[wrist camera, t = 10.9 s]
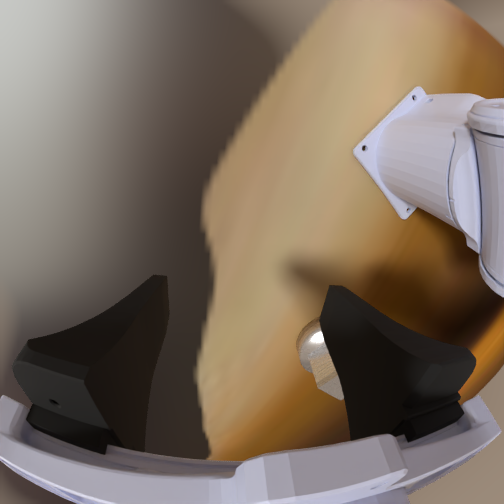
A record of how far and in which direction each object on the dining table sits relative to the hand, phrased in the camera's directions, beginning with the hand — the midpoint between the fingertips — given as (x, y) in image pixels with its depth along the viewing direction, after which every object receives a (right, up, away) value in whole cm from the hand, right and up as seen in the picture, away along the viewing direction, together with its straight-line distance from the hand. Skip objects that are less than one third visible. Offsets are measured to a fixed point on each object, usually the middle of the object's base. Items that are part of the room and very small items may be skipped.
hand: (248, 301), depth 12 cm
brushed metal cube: (+8, -8, +13) cm, 17 cm away
